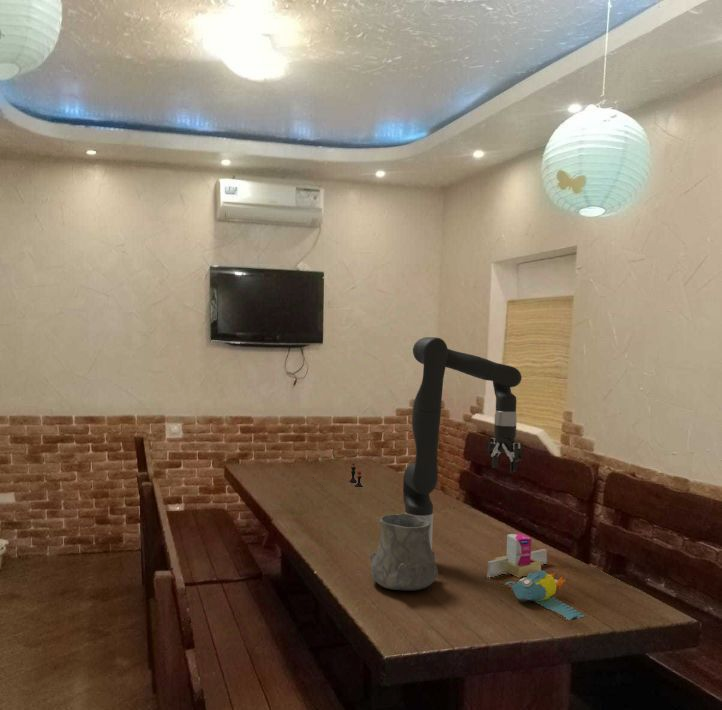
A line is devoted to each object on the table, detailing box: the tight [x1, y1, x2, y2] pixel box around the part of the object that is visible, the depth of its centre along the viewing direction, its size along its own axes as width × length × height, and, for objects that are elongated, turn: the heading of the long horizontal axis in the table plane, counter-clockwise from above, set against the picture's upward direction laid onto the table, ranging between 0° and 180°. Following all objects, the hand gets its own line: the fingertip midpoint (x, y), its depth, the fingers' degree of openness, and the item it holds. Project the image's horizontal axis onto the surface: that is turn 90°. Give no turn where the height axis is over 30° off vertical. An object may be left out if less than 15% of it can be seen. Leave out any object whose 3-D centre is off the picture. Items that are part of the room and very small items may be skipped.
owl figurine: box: [504, 569, 585, 621], centre depth 185 cm, size 28×9×15 cm
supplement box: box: [506, 533, 532, 566], centre depth 209 cm, size 6×6×12 cm
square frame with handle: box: [486, 548, 548, 579], centre depth 209 cm, size 26×10×5 cm, turn 123°
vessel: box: [370, 513, 439, 591], centre depth 194 cm, size 22×22×20 cm
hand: (503, 469), depth 224 cm, fingers open, 8 cm apart
